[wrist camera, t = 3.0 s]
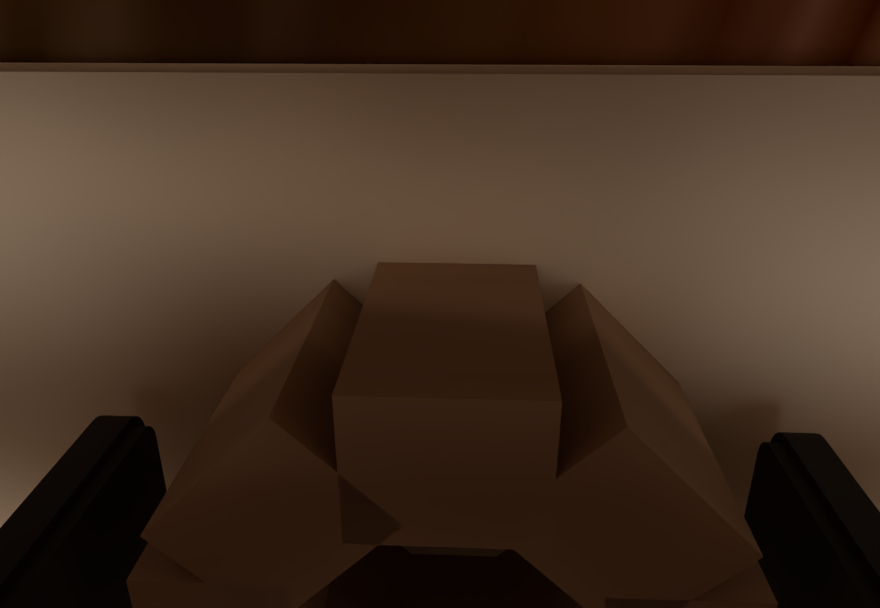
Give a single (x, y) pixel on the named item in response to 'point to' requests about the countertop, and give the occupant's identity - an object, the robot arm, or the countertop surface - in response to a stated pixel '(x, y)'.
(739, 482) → the gear board
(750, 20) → the countertop surface
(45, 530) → the robot arm
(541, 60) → the countertop surface
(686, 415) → the walnut gear
